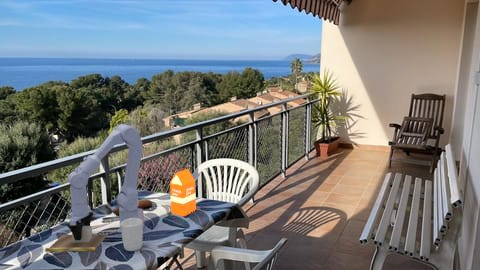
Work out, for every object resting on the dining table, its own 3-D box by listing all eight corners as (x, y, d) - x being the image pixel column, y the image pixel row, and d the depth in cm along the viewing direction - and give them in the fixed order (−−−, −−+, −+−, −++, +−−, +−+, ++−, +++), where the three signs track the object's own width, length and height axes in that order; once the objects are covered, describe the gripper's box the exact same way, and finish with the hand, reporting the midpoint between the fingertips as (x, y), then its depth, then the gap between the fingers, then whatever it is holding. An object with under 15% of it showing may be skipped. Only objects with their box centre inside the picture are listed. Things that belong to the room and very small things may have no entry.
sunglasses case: (144, 202, 187) (147, 193, 184) (150, 212, 183) (153, 203, 180) (109, 211, 176) (111, 201, 172) (115, 222, 172) (117, 212, 168)
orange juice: (196, 210, 176) (194, 169, 173) (183, 216, 169) (182, 174, 166) (183, 207, 180) (182, 167, 177) (170, 213, 173) (169, 171, 170)
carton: (88, 242, 143) (87, 230, 142) (72, 242, 143) (71, 230, 142) (92, 237, 147) (91, 225, 146) (76, 237, 147) (75, 225, 146)
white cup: (132, 254, 135) (130, 228, 133) (117, 248, 139) (115, 223, 137) (148, 245, 141) (147, 220, 140) (133, 240, 146) (132, 216, 144)
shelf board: (107, 235, 150) (107, 231, 150) (94, 252, 136) (94, 248, 136) (63, 236, 150) (62, 232, 150) (45, 253, 136) (44, 249, 136)
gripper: (77, 195, 149) (79, 227, 152) (60, 209, 135) (63, 244, 137) (94, 195, 149) (97, 227, 152) (79, 209, 135) (82, 244, 137)
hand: (82, 235), depth 145 cm, fingers open, 7 cm apart
